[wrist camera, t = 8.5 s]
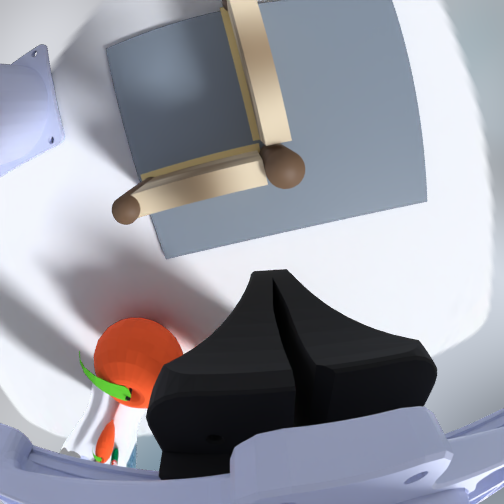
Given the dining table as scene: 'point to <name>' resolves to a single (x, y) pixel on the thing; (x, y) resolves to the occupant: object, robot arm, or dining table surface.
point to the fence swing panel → (259, 70)
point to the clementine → (132, 359)
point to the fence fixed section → (211, 181)
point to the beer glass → (105, 432)
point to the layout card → (297, 110)
